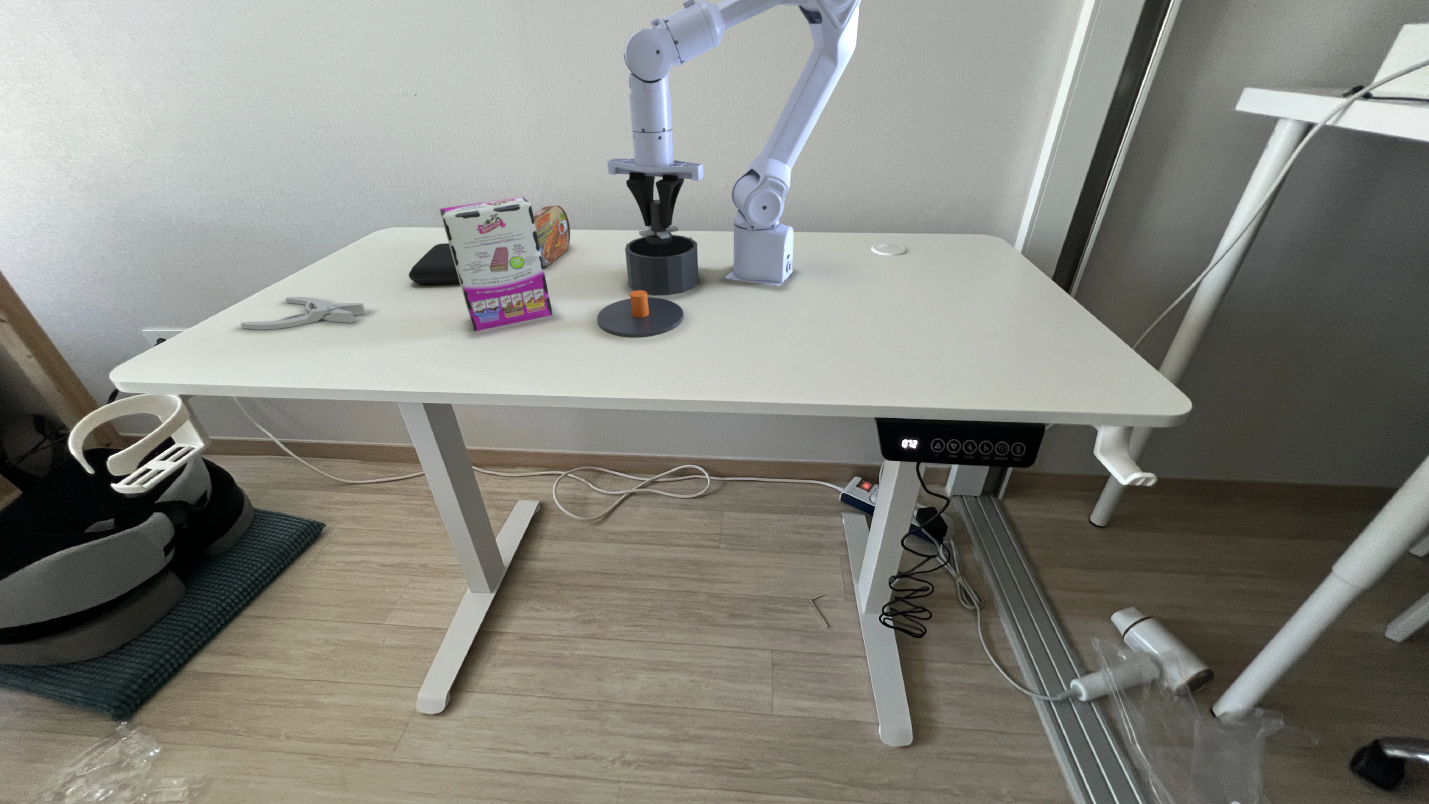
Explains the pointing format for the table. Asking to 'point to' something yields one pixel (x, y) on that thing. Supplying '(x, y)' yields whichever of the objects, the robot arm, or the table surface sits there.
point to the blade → (657, 226)
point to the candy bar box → (498, 261)
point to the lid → (640, 316)
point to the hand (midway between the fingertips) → (658, 225)
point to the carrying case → (435, 267)
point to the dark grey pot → (662, 265)
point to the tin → (552, 232)
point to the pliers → (312, 314)
